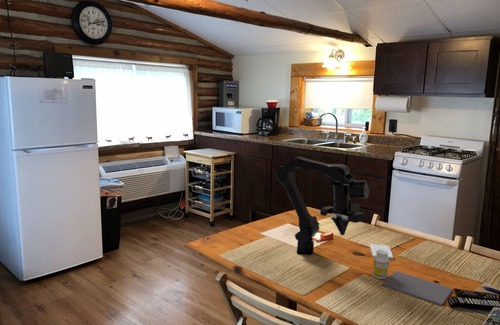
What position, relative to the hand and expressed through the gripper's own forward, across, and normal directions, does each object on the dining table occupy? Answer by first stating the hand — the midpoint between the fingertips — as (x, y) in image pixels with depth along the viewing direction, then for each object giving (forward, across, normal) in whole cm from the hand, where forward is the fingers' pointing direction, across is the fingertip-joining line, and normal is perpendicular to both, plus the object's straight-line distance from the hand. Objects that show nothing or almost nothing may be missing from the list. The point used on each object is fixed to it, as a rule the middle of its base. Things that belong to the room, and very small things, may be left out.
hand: (342, 234), depth 155 cm
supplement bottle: (+13, -16, -2) cm, 21 cm away
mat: (+14, -28, -5) cm, 32 cm away
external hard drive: (+13, -2, -22) cm, 25 cm away
